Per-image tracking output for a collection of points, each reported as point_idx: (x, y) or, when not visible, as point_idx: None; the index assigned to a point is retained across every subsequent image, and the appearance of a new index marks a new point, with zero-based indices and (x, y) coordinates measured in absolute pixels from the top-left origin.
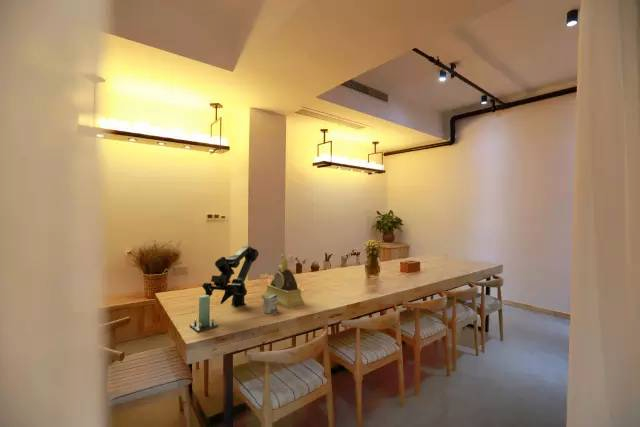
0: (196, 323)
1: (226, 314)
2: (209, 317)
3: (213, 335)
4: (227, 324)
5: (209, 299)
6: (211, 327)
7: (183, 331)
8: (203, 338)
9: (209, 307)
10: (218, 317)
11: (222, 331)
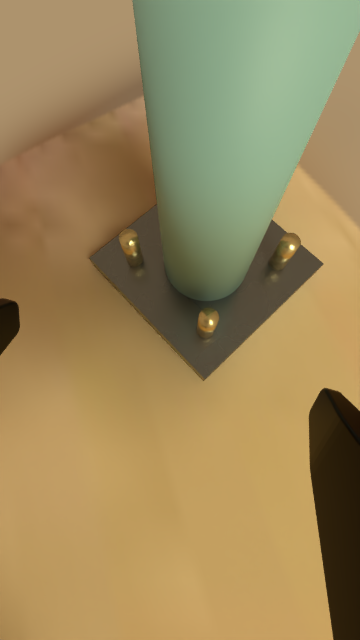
0: (277, 281)
1: (82, 570)
2: (161, 238)
3: (92, 142)
4: (29, 306)
5: (134, 7)
6: (133, 227)
7: (314, 193)
8: (141, 109)
9: (151, 154)
10: (145, 473)
11: (46, 192)
